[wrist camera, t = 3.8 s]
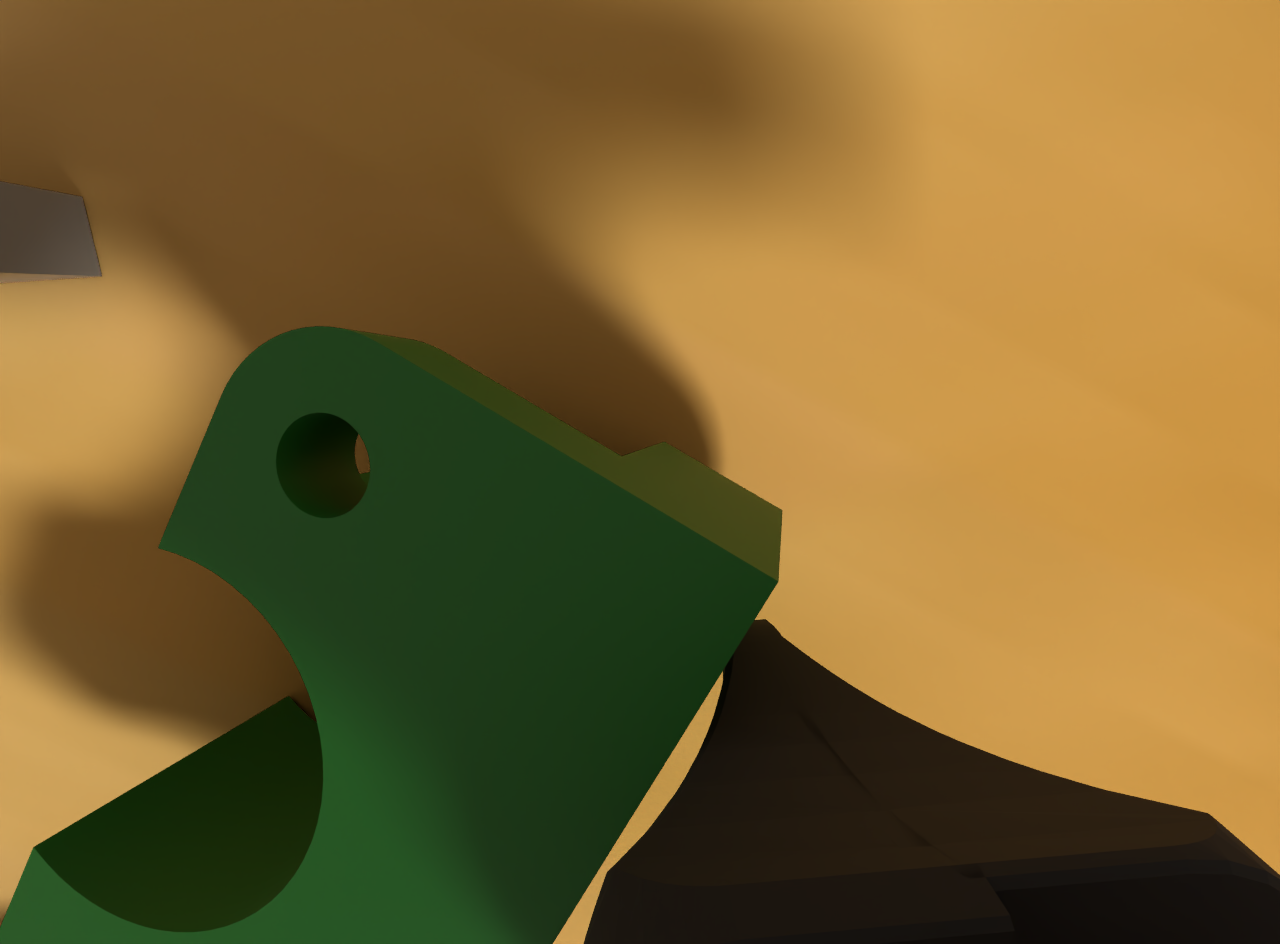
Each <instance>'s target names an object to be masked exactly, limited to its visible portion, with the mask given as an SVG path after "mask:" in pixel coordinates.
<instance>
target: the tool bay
mask: <svg viewBox="0 0 1280 944" xmlns="http://www.w3.org/2000/svg"><path fill="white" fill-rule="evenodd" d="M100 276H102V275H101V270H100V266H99V262H98V258H97V254H96V250H95V246H94V242H93V238H92V234H91V230H90V226H89V222H88V218H87V214H86V210H85V206H84V202H83V198H82V197H81V196H76V195H71V194H65V193H60V192H55V191H49V190H44V189H39V188H33V187H28V186H23V185H18V184H12V183H7V182H2V181H0V283H10V282H25V281H40V280H55V279H70V278H85V277H100Z"/></svg>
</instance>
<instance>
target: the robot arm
mask: <svg viewBox="0 0 1280 944" xmlns="http://www.w3.org/2000/svg"><path fill="white" fill-rule="evenodd" d="M584 944H1280V875H1279V874H1278V873H1277V872H1276V871H1274V870H1273V869H1272V868H1271V867H1270V866H1269V865H1268V864H1266V863H1265V862H1264V861H1263V860H1262V859H1261V858H1259V857H1258V856H1257V855H1256V854H1255V853H1254V852H1253V851H1251V850H1250V849H1249V848H1248V847H1247V846H1246V845H1245V844H1243V843H1242V842H1241V841H1240V840H1239V839H1238V838H1237V837H1235V836H1234V835H1233V834H1232V833H1231V832H1230V831H1229V830H1227V829H1226V828H1225V827H1224V826H1223V825H1222V824H1220V823H1219V822H1218V821H1217V820H1216V819H1214V818H1213V817H1212V816H1211V815H1210V814H1208V813H1204V812H1200V811H1196V810H1191V809H1187V808H1182V807H1178V806H1173V805H1169V804H1165V803H1160V802H1156V801H1151V800H1147V799H1143V798H1138V797H1134V796H1129V795H1125V794H1121V793H1116V792H1112V791H1107V790H1104V789H1100V788H1096V787H1092V786H1089V785H1086V784H1082V783H1079V782H1075V781H1072V780H1069V779H1065V778H1062V777H1059V776H1055V775H1052V774H1048V773H1045V772H1042V771H1039V770H1036V769H1033V768H1030V767H1027V766H1024V765H1021V764H1018V763H1015V762H1012V761H1009V760H1006V759H1003V758H1001V757H998V756H996V755H993V754H990V753H988V752H985V751H983V750H980V749H978V748H975V747H973V746H970V745H967V744H965V743H962V742H960V741H957V740H955V739H953V738H950V737H948V736H946V735H944V734H941V733H939V732H937V731H935V730H933V729H930V728H928V727H926V726H924V725H922V724H920V723H918V722H916V721H914V720H912V719H910V718H908V717H906V716H904V715H902V714H900V713H898V712H896V711H894V710H892V709H891V708H889V707H887V706H885V705H883V704H881V703H880V702H878V701H876V700H875V699H873V698H871V697H870V696H868V695H866V694H865V693H863V692H861V691H860V690H858V689H856V688H855V687H853V686H852V685H850V684H848V683H847V682H845V681H844V680H842V679H841V678H839V677H838V676H836V675H835V674H833V673H832V672H830V671H829V670H827V669H826V668H824V667H823V666H821V665H820V664H819V663H817V662H816V661H814V660H813V659H812V658H810V657H809V656H807V655H806V654H805V653H803V652H802V651H801V650H799V649H798V648H797V647H795V646H794V645H793V644H791V643H790V642H789V641H787V640H786V639H785V638H783V637H782V636H781V634H780V633H779V632H778V630H777V629H776V628H775V627H774V626H773V625H772V624H771V623H769V622H768V621H767V620H766V619H763V620H754V621H753V623H752V625H751V626H750V628H749V629H748V631H747V633H746V634H745V636H744V637H743V639H742V641H741V642H740V644H739V645H738V647H737V649H736V650H735V652H734V653H733V655H732V657H731V658H730V660H729V661H728V663H727V665H726V666H725V668H724V669H723V684H722V688H721V692H720V696H719V699H718V703H717V706H716V710H715V713H714V716H713V719H712V722H711V725H710V727H709V730H708V732H707V735H706V737H705V739H704V742H703V744H702V746H701V748H700V751H699V753H698V755H697V757H696V758H695V760H694V762H693V764H692V766H691V768H690V770H689V772H688V773H687V775H686V777H685V779H684V780H683V782H682V784H681V785H680V787H679V788H678V790H677V792H676V793H675V795H674V796H673V797H672V799H671V800H670V801H669V803H668V804H667V805H666V807H665V808H664V809H663V811H662V812H661V813H660V815H659V816H658V818H657V819H656V820H655V822H654V823H653V824H652V826H651V827H650V828H649V829H648V830H647V832H646V833H645V834H644V835H643V836H642V837H641V838H640V839H639V840H638V841H637V842H636V843H635V844H634V846H633V847H632V848H631V849H630V850H629V851H628V852H627V853H626V854H625V855H624V856H623V857H622V858H621V859H620V860H619V861H618V862H617V863H616V864H615V865H614V866H613V867H612V868H611V869H610V870H609V871H608V872H607V874H606V877H605V879H604V882H603V885H602V888H601V891H600V894H599V897H598V900H597V903H596V905H595V908H594V911H593V914H592V918H591V921H590V924H589V928H588V931H587V934H586V937H585V941H584Z"/></svg>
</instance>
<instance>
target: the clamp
mask: <svg viewBox="0 0 1280 944" xmlns="http://www.w3.org/2000/svg"><path fill="white" fill-rule="evenodd" d="M358 434H359V435H360V437H361V438H362V440H363V442H364V444H365V446H366V449H367V452H368V455H369V461H370V472H368V473H362V474H359V472H358V469H357V466H356V462H355V443H356V439H357V436H358ZM781 526H782V510H781V509H779V508H777V507H776V506H774V505H772V504H771V503H769V502H767V501H765V500H764V499H762V498H760V497H759V496H757V495H755V494H753V493H752V492H750V491H748V490H746V489H745V488H743V487H741V486H740V485H738V484H736V483H734V482H733V481H731V480H729V479H728V478H726V477H724V476H722V475H721V474H719V473H717V472H716V471H714V470H712V469H710V468H709V467H707V466H705V465H703V464H702V463H700V462H698V461H697V460H695V459H693V458H691V457H690V456H688V455H686V454H685V453H683V452H681V451H679V450H678V449H676V448H674V447H673V446H671V445H669V444H667V443H666V442H662V443H659V444H656V445H653V446H650V447H647V448H644V449H641V450H638V451H636V452H633V453H630V454H627V455H624V456H620V455H618V454H617V453H615V452H613V451H612V450H610V449H608V448H607V447H605V446H603V445H601V444H600V443H598V442H596V441H595V440H593V439H591V438H590V437H588V436H586V435H584V434H583V433H581V432H579V431H578V430H576V429H574V428H573V427H571V426H569V425H568V424H566V423H564V422H562V421H561V420H559V419H557V418H556V417H554V416H552V415H551V414H549V413H547V412H546V411H544V410H542V409H540V408H539V407H537V406H535V405H534V404H532V403H530V402H529V401H527V400H525V399H523V398H522V397H520V396H518V395H517V394H515V393H513V392H512V391H510V390H508V389H507V388H505V387H503V386H501V385H500V384H498V383H496V382H495V381H493V380H491V379H490V378H488V377H486V376H485V375H483V374H481V373H479V372H478V371H476V370H474V369H473V368H471V367H469V366H468V365H466V364H464V363H462V362H461V361H459V360H457V359H456V358H454V357H452V356H451V355H449V354H447V353H446V352H444V351H442V350H440V349H438V348H436V347H434V346H432V345H429V344H426V343H424V342H420V341H416V340H412V339H406V338H399V337H393V336H387V335H380V334H374V333H368V332H361V331H355V330H349V329H343V328H336V327H324V326H315V327H305V328H300V329H296V330H291V331H289V332H286V333H283V334H280V335H278V336H276V337H274V338H272V339H270V340H268V341H267V342H265V343H264V344H262V345H261V346H259V347H258V348H257V349H256V350H254V351H253V352H252V353H251V354H250V355H249V356H248V357H247V358H246V359H245V360H244V361H243V362H242V363H241V364H240V365H239V367H238V368H237V369H236V371H235V372H234V373H233V375H232V376H231V378H230V380H229V381H228V383H227V385H226V387H225V389H224V391H223V393H222V395H221V398H220V400H219V402H218V405H217V407H216V410H215V412H214V414H213V417H212V419H211V422H210V424H209V426H208V429H207V431H206V434H205V436H204V438H203V441H202V443H201V446H200V448H199V450H198V453H197V455H196V458H195V460H194V462H193V465H192V467H191V470H190V472H189V475H188V477H187V479H186V482H185V484H184V487H183V489H182V491H181V494H180V496H179V499H178V501H177V503H176V506H175V508H174V511H173V513H172V515H171V518H170V520H169V523H168V525H167V527H166V530H165V532H164V535H163V537H162V539H161V542H160V544H159V547H158V548H159V549H163V550H166V551H169V552H172V553H176V554H178V555H180V556H183V557H185V558H187V559H190V560H192V561H194V562H196V563H198V564H200V565H202V566H203V567H205V568H207V569H209V570H210V571H212V572H214V573H215V574H217V575H218V576H219V577H221V578H222V579H224V580H225V581H226V582H228V583H229V584H231V585H232V586H233V587H234V588H235V589H236V590H237V591H239V592H240V593H241V594H242V595H243V596H244V597H245V598H247V599H248V600H249V601H250V602H251V604H252V605H253V606H254V607H255V608H256V609H257V610H258V611H259V612H260V613H261V614H262V615H263V616H264V618H265V619H266V620H267V621H268V623H269V624H270V625H271V627H272V628H273V629H274V630H275V632H276V633H277V634H278V636H279V638H280V639H281V641H282V642H283V644H284V645H285V647H286V648H287V650H288V651H289V653H290V655H291V657H292V659H293V661H294V663H295V664H296V666H297V668H298V670H299V672H300V674H301V677H302V679H303V682H304V684H305V686H306V689H307V691H308V694H309V697H310V700H311V703H312V706H313V709H314V713H315V716H316V720H317V723H316V722H315V721H314V720H313V719H311V718H310V717H309V716H308V715H306V714H305V713H304V712H303V711H302V710H301V709H300V708H299V707H298V706H297V705H296V703H295V702H294V701H293V700H292V699H291V698H290V697H289V696H288V697H286V698H284V699H282V700H281V701H279V702H277V703H276V704H274V705H272V706H271V707H269V708H267V709H266V710H264V711H262V712H261V713H259V714H257V715H255V716H254V717H252V718H250V719H249V720H247V721H245V722H244V723H242V724H240V725H239V726H237V727H235V728H234V729H232V730H230V731H229V732H227V733H225V734H223V735H222V736H220V737H218V738H217V739H215V740H213V741H212V742H210V743H208V744H207V745H205V746H203V747H202V748H200V749H198V750H197V751H195V752H193V753H191V754H190V755H188V756H186V757H185V758H183V759H181V760H180V761H178V762H176V763H175V764H173V765H171V766H170V767H168V768H166V769H164V770H163V771H161V772H159V773H158V774H156V775H154V776H153V777H151V778H149V779H148V780H146V781H144V782H143V783H141V784H139V785H138V786H136V787H134V788H132V789H131V790H129V791H127V792H126V793H124V794H122V795H121V796H119V797H117V798H116V799H114V800H112V801H111V802H109V803H107V804H105V805H104V806H102V807H100V808H99V809H97V810H95V811H94V812H92V813H90V814H89V815H87V816H85V817H84V818H82V819H80V820H79V821H77V822H75V823H73V824H72V825H70V826H68V827H67V828H65V829H63V830H62V831H60V832H58V833H57V834H55V835H53V836H52V837H50V838H48V839H47V840H45V841H43V842H41V843H40V844H38V845H36V846H35V847H33V850H32V852H31V855H30V857H29V859H28V862H27V864H26V867H25V869H24V871H23V874H22V876H21V879H20V881H19V883H18V886H17V888H16V891H15V893H14V895H13V898H12V900H11V903H10V905H9V907H8V910H7V912H6V915H5V917H4V920H3V922H2V924H1V927H0V944H553V942H554V941H555V939H556V938H557V936H558V934H559V933H560V931H561V929H562V928H563V926H564V925H565V923H566V921H567V920H568V918H569V917H570V915H571V913H572V912H573V910H574V909H575V907H576V905H577V904H578V902H579V901H580V899H581V897H582V896H583V894H584V893H585V891H586V889H587V888H588V886H589V885H590V883H591V881H592V880H593V878H594V877H595V875H596V873H597V872H598V870H599V869H600V867H601V865H602V864H603V862H604V860H605V859H606V857H607V856H608V854H609V852H610V851H611V849H612V848H613V846H614V844H615V843H616V841H617V840H618V838H619V836H620V835H621V833H622V832H623V830H624V828H625V827H626V825H627V824H628V822H629V820H630V819H631V817H632V816H633V814H634V812H635V811H636V809H637V808H638V806H639V804H640V803H641V801H642V799H643V798H644V796H645V795H646V793H647V791H648V790H649V788H650V787H651V785H652V783H653V782H654V780H655V779H656V777H657V775H658V774H659V772H660V771H661V769H662V767H663V766H664V764H665V763H666V761H667V759H668V758H669V756H670V755H671V753H672V751H673V750H674V748H675V747H676V745H677V743H678V742H679V740H680V739H681V737H682V735H683V734H684V732H685V730H686V729H687V727H688V726H689V724H690V722H691V721H692V719H693V718H694V716H695V714H696V713H697V711H698V710H699V708H700V706H701V705H702V703H703V702H704V700H705V698H706V697H707V695H708V694H709V692H710V690H711V689H712V687H713V686H714V684H715V682H716V681H717V679H718V678H719V676H720V674H721V673H722V671H723V669H724V668H725V666H726V665H727V663H728V661H729V660H730V658H731V657H732V655H733V653H734V652H735V650H736V649H737V647H738V645H739V644H740V642H741V641H742V639H743V637H744V636H745V634H746V633H747V631H748V629H749V628H750V626H751V625H752V623H753V621H754V620H755V618H756V617H757V615H758V613H759V612H760V610H761V609H762V607H763V605H764V604H765V602H766V600H767V599H768V597H769V596H770V594H771V592H772V591H773V589H774V588H775V586H776V584H777V583H778V579H779V562H780V544H781Z"/></svg>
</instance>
